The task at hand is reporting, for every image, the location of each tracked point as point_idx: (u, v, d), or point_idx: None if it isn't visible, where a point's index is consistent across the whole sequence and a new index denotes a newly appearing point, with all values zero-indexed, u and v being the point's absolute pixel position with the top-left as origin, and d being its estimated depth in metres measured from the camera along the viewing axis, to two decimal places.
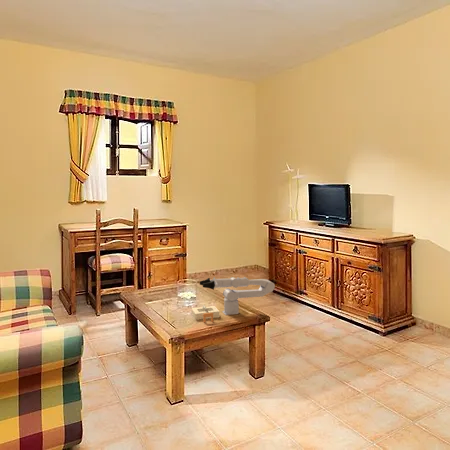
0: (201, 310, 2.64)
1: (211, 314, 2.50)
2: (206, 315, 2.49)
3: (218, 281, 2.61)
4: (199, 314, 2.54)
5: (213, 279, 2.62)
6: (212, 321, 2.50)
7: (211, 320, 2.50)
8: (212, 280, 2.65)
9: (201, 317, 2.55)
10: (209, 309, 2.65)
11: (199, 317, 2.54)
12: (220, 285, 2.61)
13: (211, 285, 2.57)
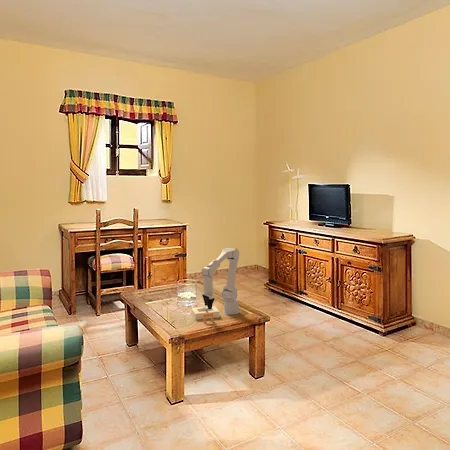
0: (201, 310, 2.64)
1: (211, 314, 2.50)
2: (206, 315, 2.49)
3: (206, 291, 2.45)
4: (199, 314, 2.54)
5: None
6: (212, 321, 2.50)
7: (211, 320, 2.50)
8: None
9: (201, 317, 2.55)
10: (209, 309, 2.65)
11: (199, 317, 2.54)
12: (210, 288, 2.46)
13: (210, 300, 2.44)
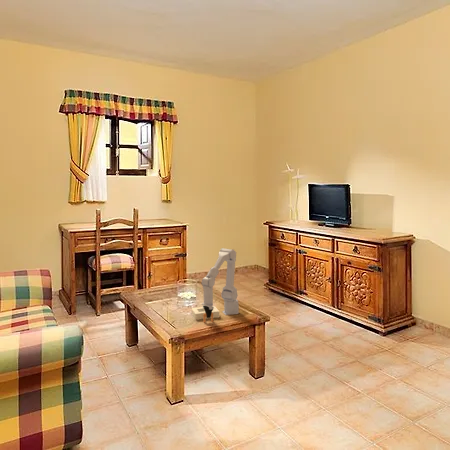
0: (201, 310, 2.64)
1: (211, 314, 2.50)
2: None
3: (206, 301, 2.46)
4: (199, 314, 2.54)
5: None
6: (212, 321, 2.50)
7: (211, 320, 2.50)
8: None
9: (201, 317, 2.55)
10: None
11: (199, 317, 2.54)
12: (210, 299, 2.46)
13: (209, 309, 2.48)
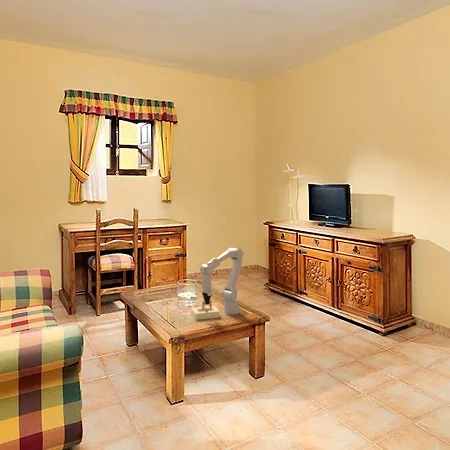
0: (201, 310, 2.64)
1: (210, 302, 2.54)
2: None
3: (205, 288, 2.51)
4: (199, 314, 2.54)
5: None
6: (210, 309, 2.55)
7: None
8: None
9: (201, 317, 2.55)
10: (209, 309, 2.65)
11: (199, 317, 2.54)
12: (209, 286, 2.51)
13: (207, 295, 2.53)
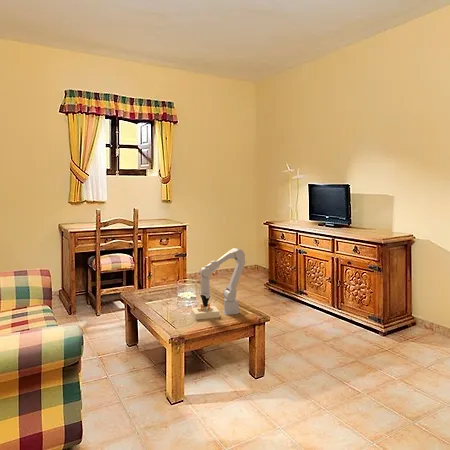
0: None
1: (208, 305, 2.61)
2: (203, 306, 2.60)
3: (203, 290, 2.57)
4: (199, 314, 2.54)
5: (201, 293, 2.60)
6: None
7: None
8: None
9: (201, 317, 2.55)
10: None
11: (199, 317, 2.54)
12: (207, 288, 2.58)
13: (205, 298, 2.59)
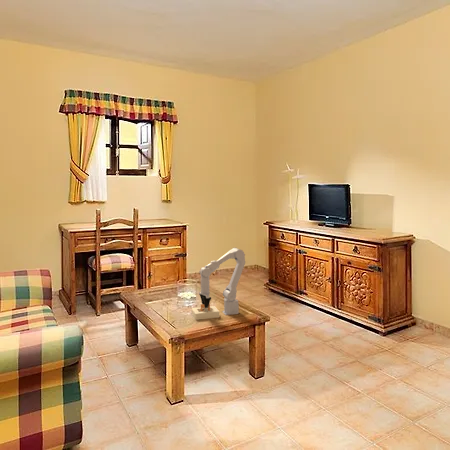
0: None
1: None
2: (203, 306, 2.60)
3: (203, 290, 2.57)
4: (199, 314, 2.54)
5: (201, 293, 2.60)
6: None
7: None
8: None
9: (201, 317, 2.55)
10: None
11: (199, 317, 2.54)
12: (207, 288, 2.58)
13: (207, 299, 2.56)
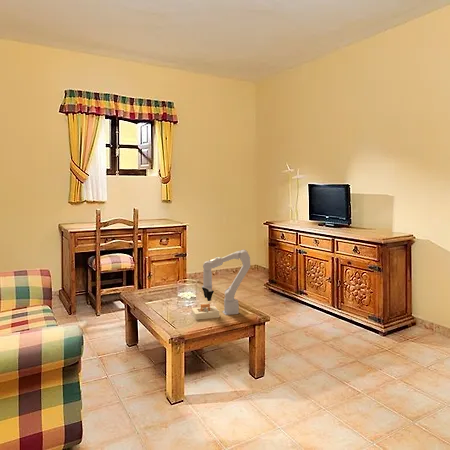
0: None
1: (208, 305, 2.61)
2: (203, 306, 2.60)
3: (205, 284, 2.63)
4: (199, 314, 2.54)
5: None
6: None
7: None
8: None
9: (201, 317, 2.55)
10: None
11: (199, 317, 2.54)
12: (209, 282, 2.63)
13: (209, 292, 2.62)
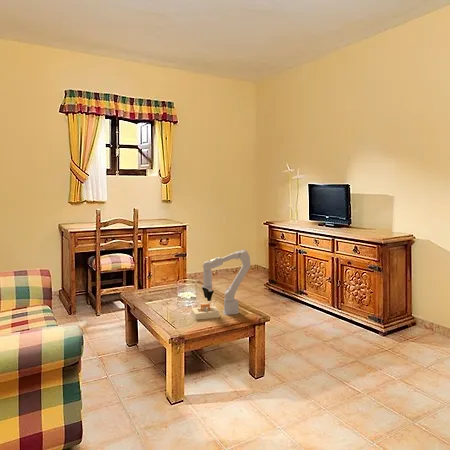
0: None
1: (208, 305, 2.61)
2: (203, 306, 2.60)
3: (205, 284, 2.63)
4: (199, 314, 2.54)
5: None
6: None
7: None
8: None
9: (201, 317, 2.55)
10: None
11: (199, 317, 2.54)
12: (209, 282, 2.63)
13: (209, 292, 2.62)
